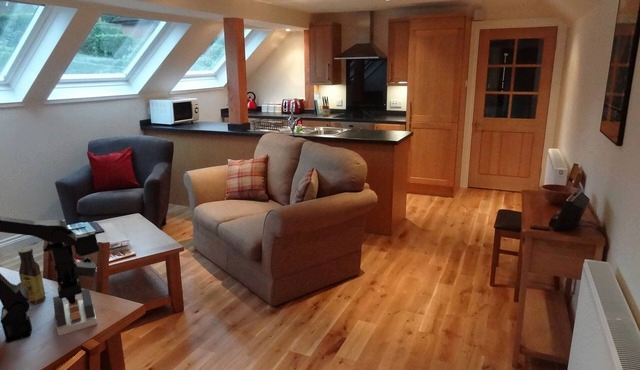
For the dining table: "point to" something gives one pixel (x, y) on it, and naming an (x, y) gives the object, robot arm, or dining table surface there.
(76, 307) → the block
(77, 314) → the paddle near
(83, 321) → the board
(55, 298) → the dark grey bar
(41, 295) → the sauce bottle
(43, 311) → the dining table surface
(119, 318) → the dining table surface
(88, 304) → the dark gray bar
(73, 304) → the paddle far
